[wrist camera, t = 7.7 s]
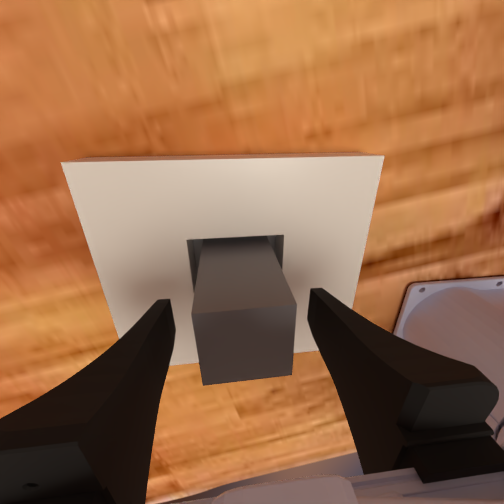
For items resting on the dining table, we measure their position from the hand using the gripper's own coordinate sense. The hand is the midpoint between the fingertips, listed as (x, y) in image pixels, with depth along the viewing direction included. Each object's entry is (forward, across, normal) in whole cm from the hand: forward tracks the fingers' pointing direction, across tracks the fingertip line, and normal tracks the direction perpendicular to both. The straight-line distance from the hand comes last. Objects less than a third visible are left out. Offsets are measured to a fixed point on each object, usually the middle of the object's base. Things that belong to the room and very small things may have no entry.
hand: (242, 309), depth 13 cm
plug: (+5, 0, 0) cm, 5 cm away
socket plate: (+5, 0, 0) cm, 5 cm away
